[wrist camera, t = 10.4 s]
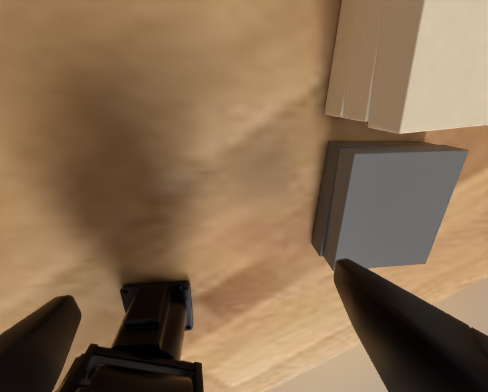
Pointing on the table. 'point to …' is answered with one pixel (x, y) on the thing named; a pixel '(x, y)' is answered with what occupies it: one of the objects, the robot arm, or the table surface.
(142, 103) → the table surface
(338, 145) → the grey books
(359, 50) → the beige block
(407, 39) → the cream rectangular block
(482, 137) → the table surface
